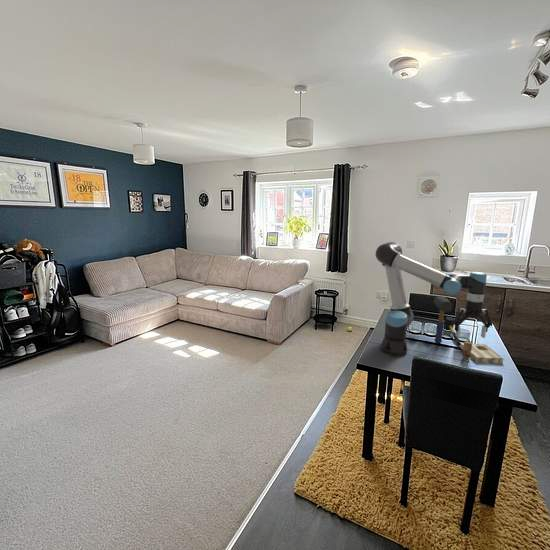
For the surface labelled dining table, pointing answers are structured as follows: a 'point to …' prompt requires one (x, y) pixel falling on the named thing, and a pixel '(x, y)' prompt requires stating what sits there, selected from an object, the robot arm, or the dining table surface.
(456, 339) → the mallet
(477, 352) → the board
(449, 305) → the rubber mallet
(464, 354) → the peg
